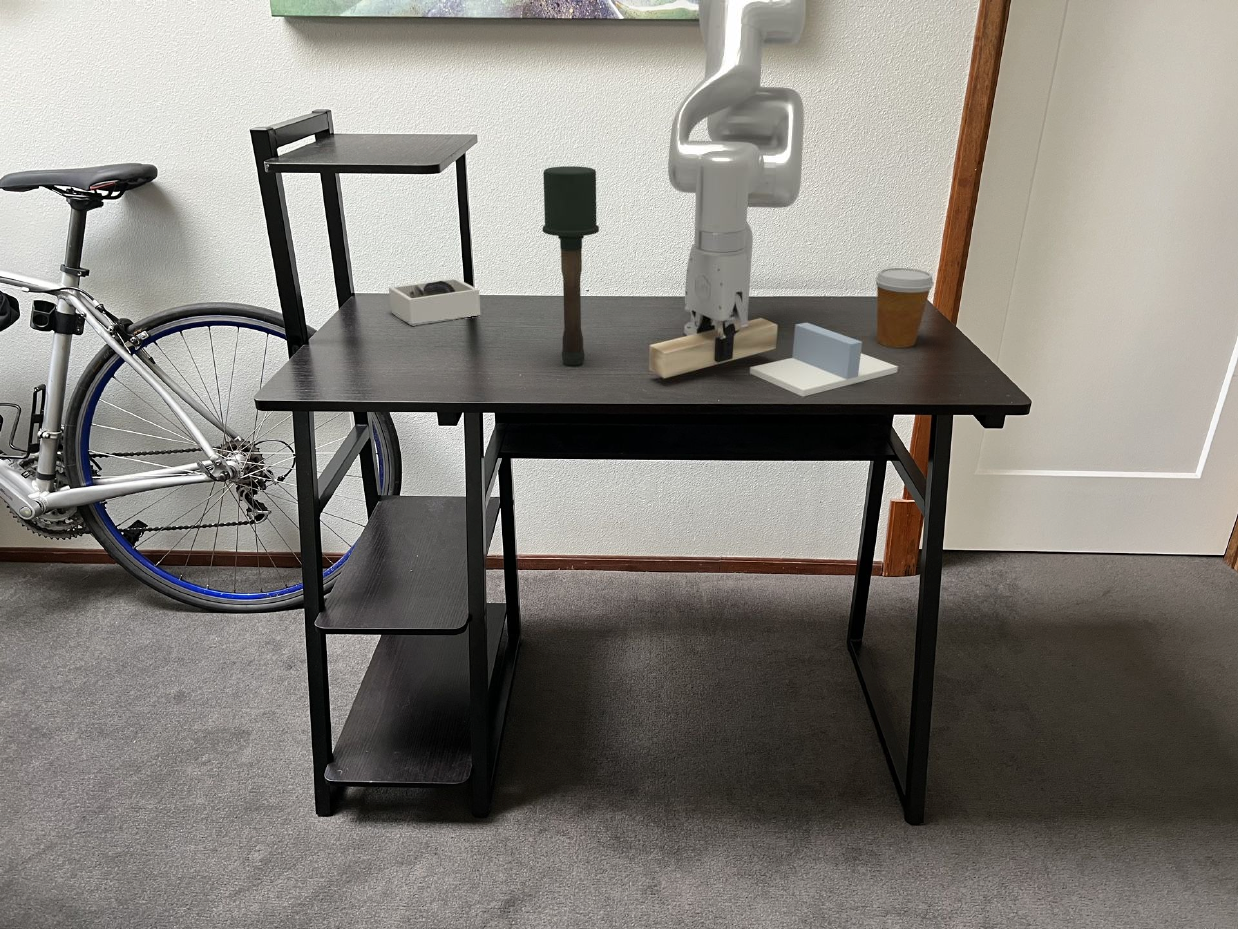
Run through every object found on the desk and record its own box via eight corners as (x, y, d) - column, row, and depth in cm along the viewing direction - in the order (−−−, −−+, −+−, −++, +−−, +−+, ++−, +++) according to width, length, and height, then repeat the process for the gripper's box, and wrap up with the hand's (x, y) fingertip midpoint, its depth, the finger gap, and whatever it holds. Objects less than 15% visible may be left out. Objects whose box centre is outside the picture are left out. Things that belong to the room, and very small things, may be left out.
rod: (649, 369, 140) (649, 345, 138) (759, 340, 150) (761, 317, 148) (664, 378, 137) (664, 353, 135) (775, 348, 147) (777, 324, 145)
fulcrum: (749, 373, 143) (752, 333, 140) (841, 352, 152) (846, 314, 150) (802, 396, 134) (806, 354, 131) (896, 372, 143) (902, 332, 141)
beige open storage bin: (391, 313, 173) (388, 287, 170) (457, 303, 179) (456, 278, 177) (411, 327, 164) (409, 299, 162) (480, 316, 171) (479, 289, 169)
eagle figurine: (410, 315, 166) (458, 305, 167) (403, 278, 167) (451, 268, 167) (419, 327, 174) (465, 317, 174) (411, 291, 175) (457, 282, 175)
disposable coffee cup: (856, 338, 160) (864, 270, 155) (899, 331, 163) (908, 265, 158) (892, 353, 152) (901, 282, 147) (936, 346, 155) (947, 277, 150)
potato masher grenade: (607, 357, 149) (606, 167, 136) (588, 374, 142) (586, 174, 129) (559, 352, 152) (554, 164, 139) (538, 368, 144) (531, 171, 132)
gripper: (666, 231, 139) (663, 344, 147) (735, 256, 126) (728, 378, 135) (705, 224, 142) (700, 335, 151) (776, 248, 130) (767, 367, 138)
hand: (714, 354), depth 143 cm, fingers closed on rod, 4 cm apart
